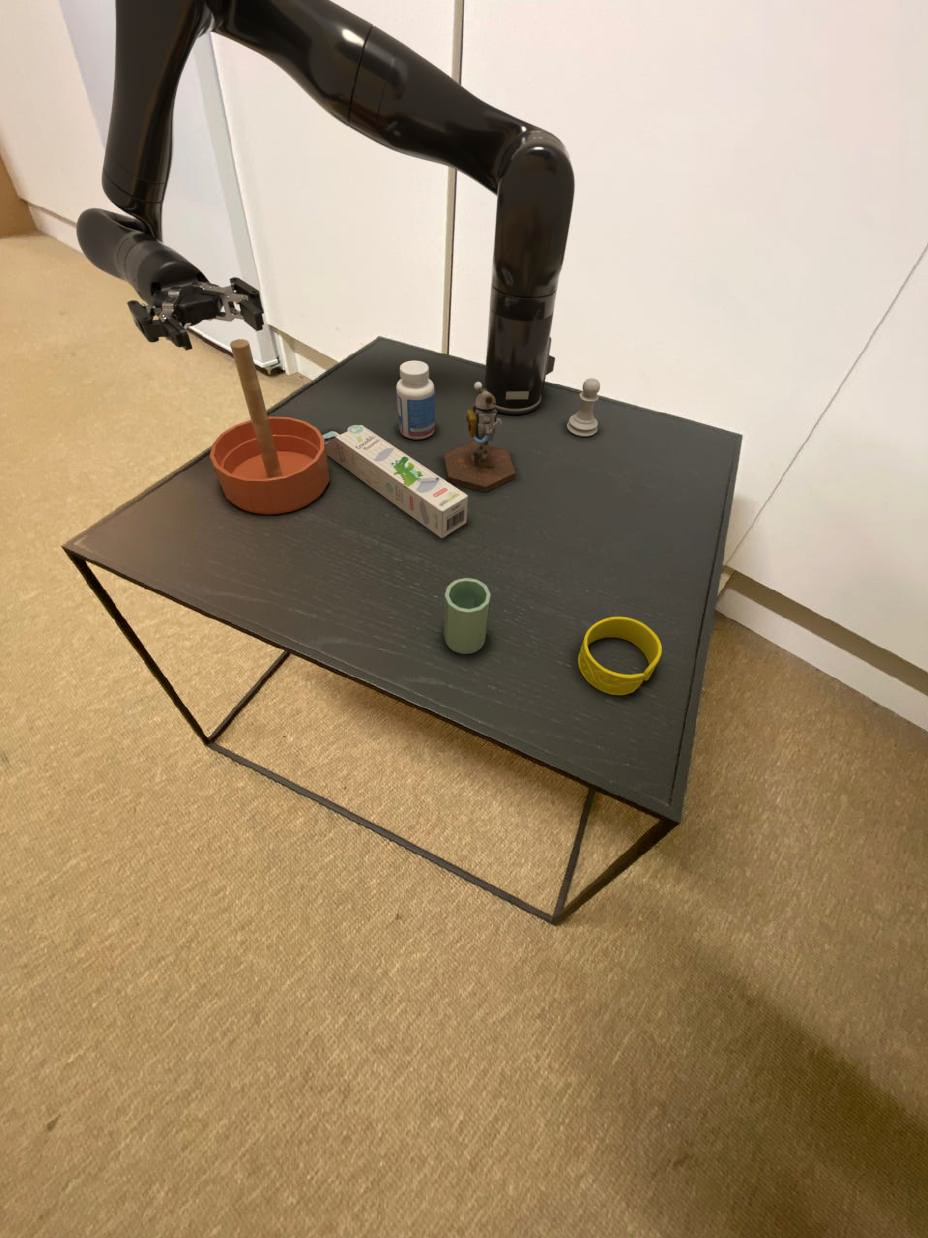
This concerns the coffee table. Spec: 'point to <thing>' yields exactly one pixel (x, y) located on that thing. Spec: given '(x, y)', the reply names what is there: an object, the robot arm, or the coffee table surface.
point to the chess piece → (585, 411)
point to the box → (399, 479)
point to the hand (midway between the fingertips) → (224, 331)
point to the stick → (256, 406)
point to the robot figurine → (480, 450)
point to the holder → (466, 615)
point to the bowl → (246, 470)
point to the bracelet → (626, 631)
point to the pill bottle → (415, 401)
